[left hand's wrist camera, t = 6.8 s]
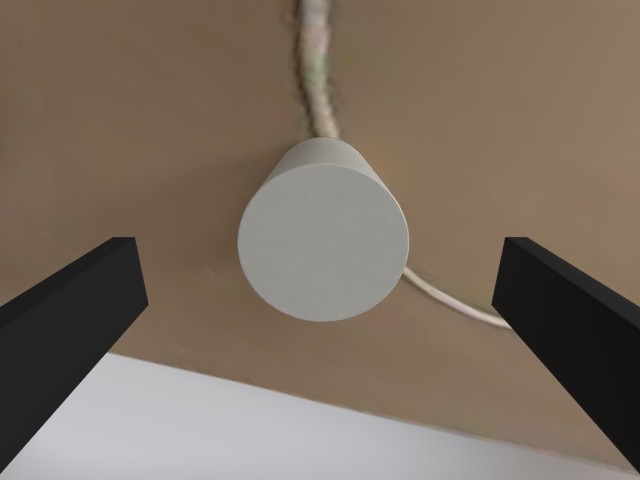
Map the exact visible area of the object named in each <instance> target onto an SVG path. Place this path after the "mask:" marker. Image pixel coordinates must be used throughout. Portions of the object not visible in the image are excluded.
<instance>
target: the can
mask: <svg viewBox="0 0 640 480" xmlns="http://www.w3.org/2000/svg"><path fill="white" fill-rule="evenodd" d="M237 246H238V255H239V260H240V264H241V267H242V269H243V272H244V274H245V276H246V278H247V280H248V282H249V283H250V285H251V286H252V287H253V289H254V290H255V291H256V292H257V293H258V295H259V296H260V297H261V298H262V299H264V300H265V301H266V302H267V303H268V304H270V305H271V306H273V307H274V308H275V309H277V310H279V311H281V312H283V313H285V314H287V315H290V316H292V317H295V318H299V319H303V320H308V321H315V322H330V321H338V320H344V319H347V318H351V317H354V316H357V315H359V314H361V313H363V312H365V311H367V310H369V309H371V308H372V307H374V306H375V305H376V304H378V303H379V302H380V301H382V300H383V299H384V298H385V297H386V296H387V295H388V294H389V293H390V291H391V290H392V289H393V288H394V287H395V285H396V283H397V282H398V280H399V279H400V277H401V275H402V272H403V270H404V268H405V264H406V261H407V257H408V250H409V234H408V227H407V223H406V220H405V217H404V214H403V212H402V210H401V208H400V206H399V204H398V203H397V201H396V200H395V198H394V197H393V195H392V194H391V193H390V191H389V190H388V189H387V188H386V186H385V185H384V184H383V182H382V181H381V180H380V179H379V177H378V176H377V175H376V173H375V172H374V171H373V170H372V168H371V167H370V166H369V164H368V163H367V162H366V160H365V159H364V158H363V157H362V156H361V154H360V153H359V152H358V151H357V150H356V149H354V148H353V147H352V146H350V145H349V144H347V143H345V142H343V141H340V140H337V139H333V138H326V137H320V138H312V139H308V140H305V141H303V142H300V143H299V144H297V145H295V146H294V147H292V148H291V149H290V150H289V151H288V152H287V153H286V154H285V155H284V156H283V157H282V158H281V160H280V161H279V162H278V164H277V165H276V166H275V168H274V169H273V170H272V172H271V173H270V175H269V176H268V177H267V179H266V180H265V181H264V183H263V184H262V185H261V187H260V188H259V189H258V191H257V192H256V193H255V195H254V196H253V197H252V199H251V200H250V202H249V203H248V205H247V207H246V209H245V211H244V213H243V216H242V218H241V221H240V225H239V229H238V238H237Z"/></svg>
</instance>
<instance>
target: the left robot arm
mask: <svg viewBox="0 0 640 480" xmlns="http://www.w3.org/2000/svg"><path fill="white" fill-rule="evenodd" d="M148 305H149V304H148V299H147V294H146V290H145V285H144V280H143V275H142V270H141V265H140V260H139V255H138V251H137V246H136V241H135V237H113V238H111V239H109V240H108V241H106V242H105V243H103V244H101V245H100V246H98V247H96V248H95V249H93V250H92V251H90V252H88V253H87V254H85V255H84V256H82V257H80V258H79V259H77V260H75V261H74V262H72V263H71V264H69V265H67V266H66V267H64V268H63V269H61V270H59V271H58V272H56V273H54V274H53V275H51V276H50V277H48V278H46V279H45V280H43V281H42V282H40V283H38V284H37V285H35V286H33V287H32V288H30V289H29V290H27V291H25V292H24V293H22V294H21V295H19V296H17V297H16V298H14V299H12V300H11V301H9V302H8V303H6V304H4V305H3V306H1V307H0V474H1V473H2V471H3V470H4V469H5V468H6V467H7V466H8V464H9V463H10V462H11V461H12V460H13V459H14V458H15V457H16V455H17V454H18V453H19V452H20V451H21V450H22V449H23V447H24V446H25V445H26V444H27V443H28V442H29V441H30V439H31V438H32V437H33V436H34V435H35V434H36V433H37V431H38V430H39V429H40V428H41V427H42V426H43V425H44V423H45V422H46V421H47V420H48V419H49V418H50V417H51V415H52V414H53V413H54V412H55V411H56V410H57V409H58V407H59V406H60V405H61V404H62V403H63V402H64V401H65V399H66V398H67V397H68V396H69V395H70V394H71V393H72V391H73V390H74V389H75V388H76V387H77V386H78V385H79V384H80V382H81V381H82V380H83V379H84V378H85V377H86V376H87V374H88V373H89V372H90V371H91V370H92V369H93V368H94V366H95V365H96V364H97V363H98V362H99V361H100V360H101V358H102V357H103V356H104V355H105V354H106V353H107V352H108V350H109V349H110V348H111V347H112V346H113V345H114V344H115V342H116V341H117V340H118V339H119V338H120V337H121V336H122V334H123V333H124V332H125V331H126V330H127V329H128V328H129V326H130V325H131V324H132V323H133V322H134V321H135V320H136V318H137V317H138V316H139V315H140V314H141V313H142V312H143V311H144V309H145V308H146V307H147V306H148ZM491 305H492V306H493V307H494V308H495V309H496V311H497V312H498V313H499V314H500V315H501V316H502V317H503V318H504V320H505V321H506V322H507V323H508V324H509V325H510V326H511V328H512V329H513V330H514V331H515V332H516V333H517V334H518V336H519V337H520V338H521V339H522V340H523V341H524V342H525V344H526V345H527V346H528V347H529V348H530V349H531V350H532V352H533V353H534V354H535V355H536V356H537V357H538V358H539V360H540V361H541V362H542V363H543V364H544V365H545V366H546V368H547V369H548V370H549V371H550V372H551V373H552V374H553V376H554V377H555V378H556V379H557V380H558V381H559V382H560V384H561V385H562V386H563V387H564V388H565V389H566V390H567V392H568V393H569V394H570V395H571V396H572V397H573V398H574V399H575V401H576V402H577V403H578V404H579V405H580V406H581V407H582V409H583V410H584V411H585V412H586V413H587V414H588V415H589V417H590V418H591V419H592V420H593V421H594V422H595V423H596V425H597V426H598V427H599V428H600V429H601V430H602V431H603V433H604V434H605V435H606V436H607V437H608V438H609V439H610V441H611V442H612V443H613V444H614V445H615V446H616V447H617V449H618V450H619V451H620V452H621V453H622V454H623V455H624V457H625V458H626V459H627V460H628V461H629V462H630V463H631V465H632V466H633V467H634V468H635V469H636V470H637V471H638V473H639V474H640V307H639V306H637V305H636V304H634V303H632V302H631V301H629V300H628V299H626V298H624V297H623V296H621V295H619V294H618V293H616V292H615V291H613V290H611V289H610V288H608V287H607V286H605V285H603V284H602V283H600V282H598V281H597V280H595V279H594V278H592V277H590V276H589V275H587V274H586V273H584V272H582V271H581V270H579V269H577V268H576V267H574V266H573V265H571V264H569V263H568V262H566V261H565V260H563V259H561V258H560V257H558V256H556V255H555V254H553V253H552V252H550V251H548V250H547V249H545V248H544V247H542V246H540V245H539V244H537V243H535V242H534V241H532V240H531V239H529V238H527V237H505V241H504V246H503V251H502V255H501V260H500V265H499V270H498V275H497V280H496V285H495V290H494V294H493V299H492V304H491Z"/></svg>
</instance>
